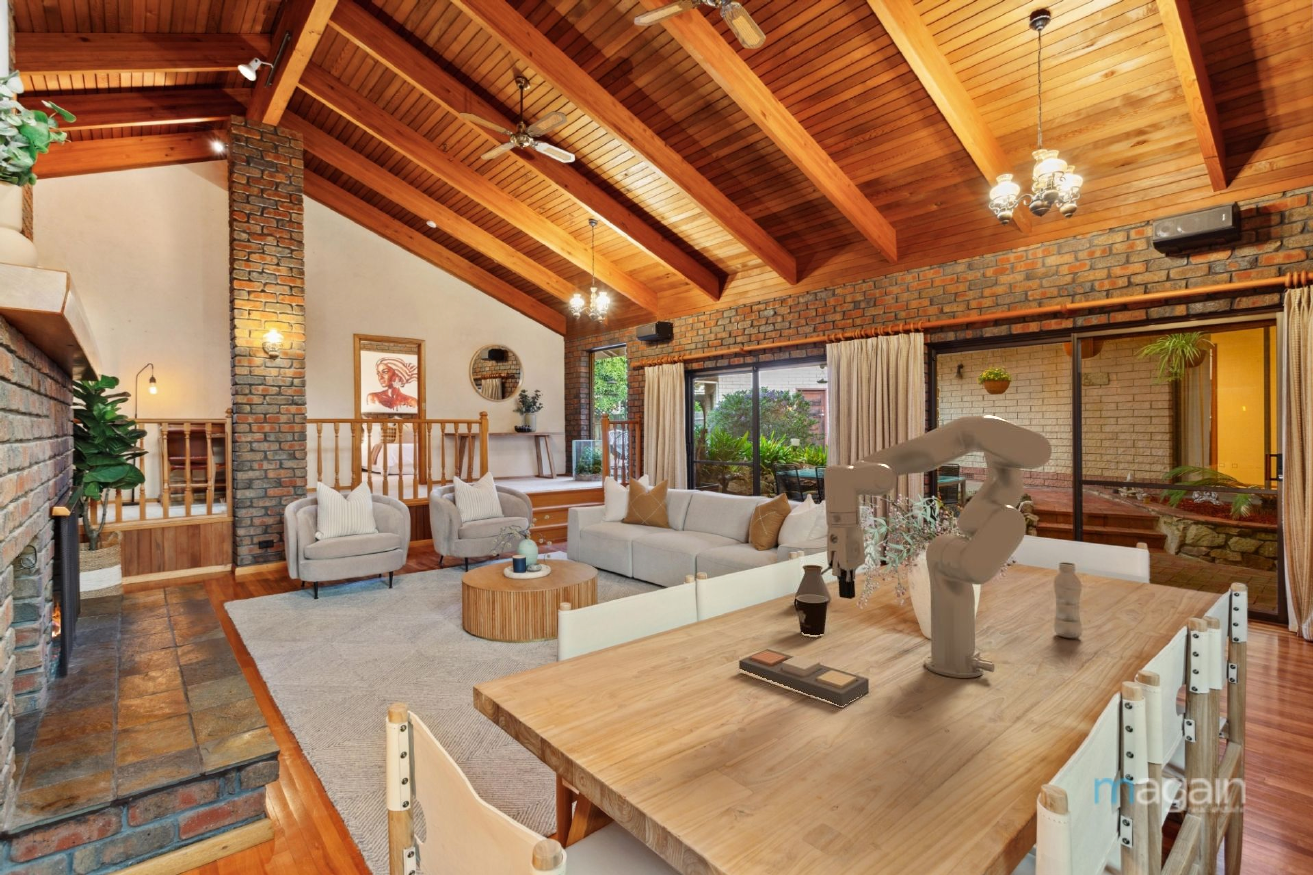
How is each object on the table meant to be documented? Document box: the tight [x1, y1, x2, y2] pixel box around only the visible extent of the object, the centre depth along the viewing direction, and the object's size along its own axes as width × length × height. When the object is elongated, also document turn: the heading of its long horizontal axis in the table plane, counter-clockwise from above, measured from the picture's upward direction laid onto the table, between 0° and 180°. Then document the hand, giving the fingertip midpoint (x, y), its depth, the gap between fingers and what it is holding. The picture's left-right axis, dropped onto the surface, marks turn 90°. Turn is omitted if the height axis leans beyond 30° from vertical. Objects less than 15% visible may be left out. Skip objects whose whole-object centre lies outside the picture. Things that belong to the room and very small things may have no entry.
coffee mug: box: [793, 595, 828, 635], centre depth 176 cm, size 12×9×10 cm
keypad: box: [738, 648, 870, 706], centre depth 141 cm, size 27×11×3 cm, turn 43°
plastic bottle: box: [1053, 561, 1083, 639], centre depth 169 cm, size 6×7×20 cm
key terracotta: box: [751, 651, 787, 667], centre depth 148 cm, size 6×6×2 cm
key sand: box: [817, 670, 856, 689], centre depth 135 cm, size 6×6×2 cm
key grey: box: [782, 655, 821, 677], centre depth 141 cm, size 6×6×2 cm
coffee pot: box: [794, 564, 832, 606], centre depth 205 cm, size 21×12×15 cm, turn 119°
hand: (847, 597), depth 144 cm, fingers closed
